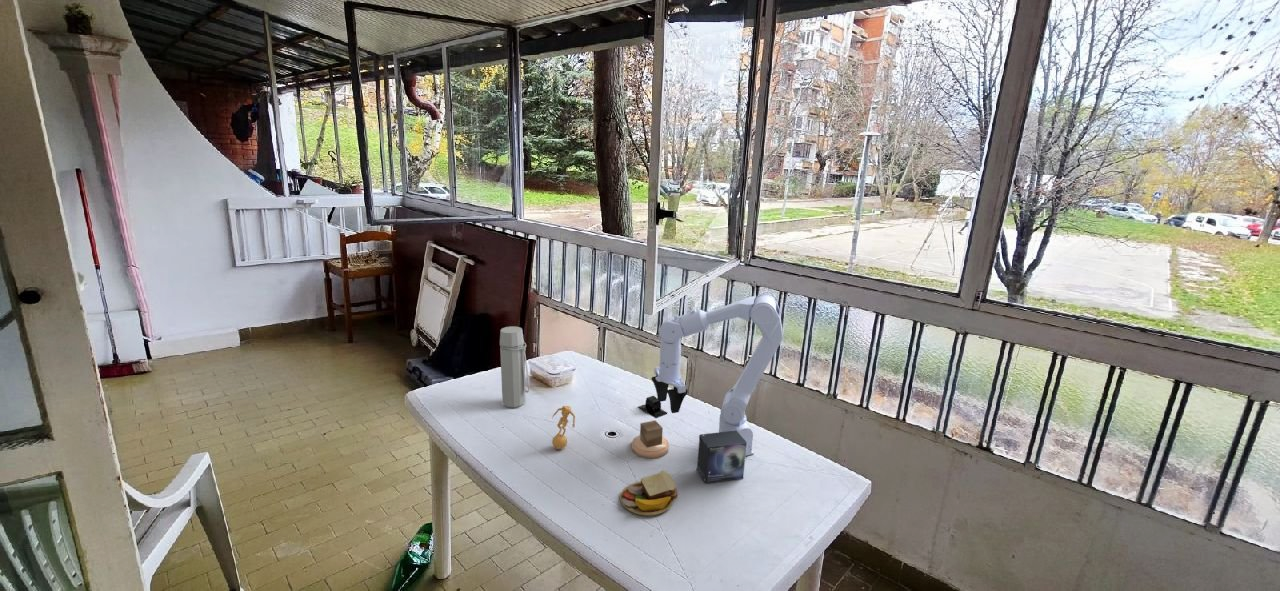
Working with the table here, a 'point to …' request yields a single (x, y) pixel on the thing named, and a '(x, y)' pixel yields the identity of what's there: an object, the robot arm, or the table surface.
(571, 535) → the table surface
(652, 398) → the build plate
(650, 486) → the toy sandwich meal
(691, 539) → the table surface
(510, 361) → the water bottle
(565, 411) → the figurine
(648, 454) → the pedestal
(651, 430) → the walnut block
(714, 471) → the small box
